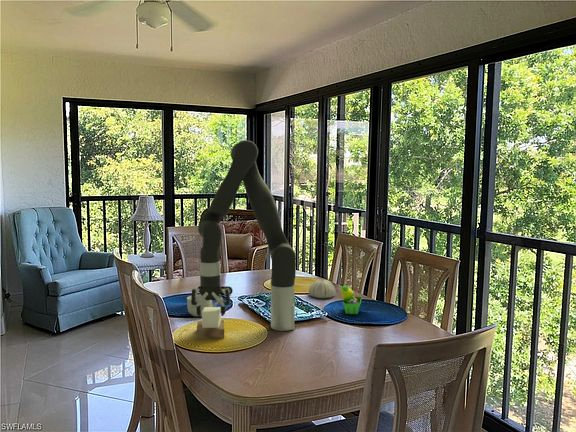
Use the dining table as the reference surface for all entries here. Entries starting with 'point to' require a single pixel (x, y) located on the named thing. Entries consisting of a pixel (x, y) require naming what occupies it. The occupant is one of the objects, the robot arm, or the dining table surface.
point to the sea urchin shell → (322, 289)
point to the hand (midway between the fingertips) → (211, 315)
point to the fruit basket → (350, 301)
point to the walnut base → (210, 331)
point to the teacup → (193, 309)
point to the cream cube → (211, 317)
